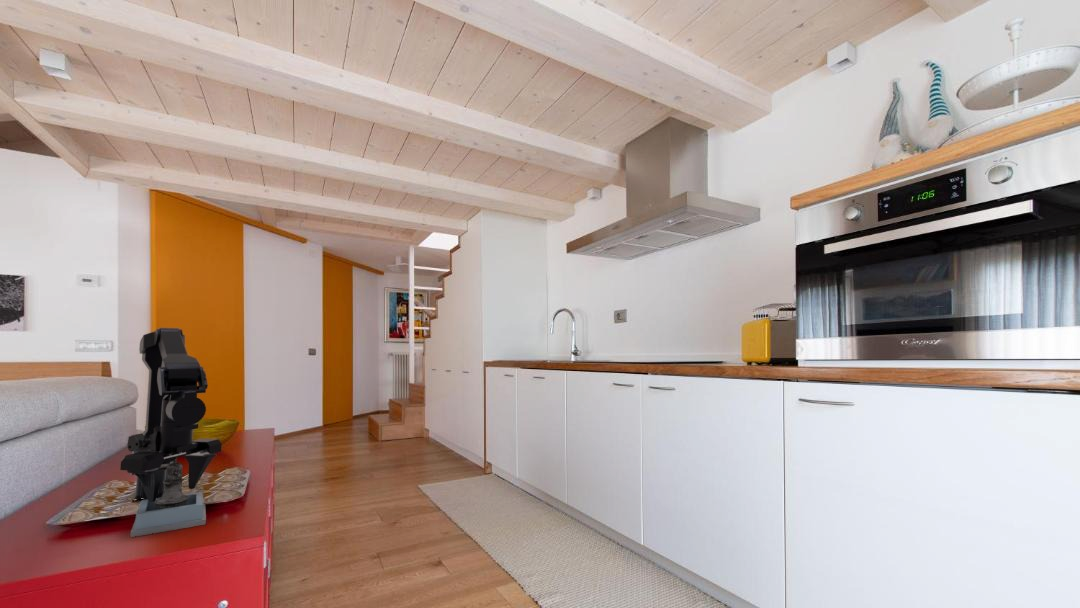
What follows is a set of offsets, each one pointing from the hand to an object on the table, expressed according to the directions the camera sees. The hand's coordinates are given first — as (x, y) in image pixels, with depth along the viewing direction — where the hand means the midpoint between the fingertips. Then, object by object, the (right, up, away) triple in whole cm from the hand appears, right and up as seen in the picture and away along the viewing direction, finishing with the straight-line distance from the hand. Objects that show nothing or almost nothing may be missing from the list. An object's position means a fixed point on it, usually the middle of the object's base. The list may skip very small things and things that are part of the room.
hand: (172, 495), depth 102 cm
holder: (0, -6, -1) cm, 6 cm away
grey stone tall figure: (0, -5, 0) cm, 5 cm away
